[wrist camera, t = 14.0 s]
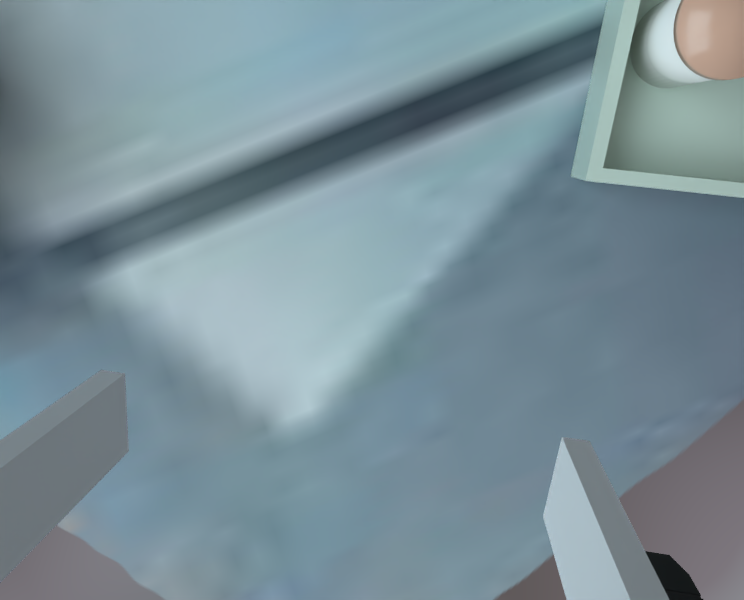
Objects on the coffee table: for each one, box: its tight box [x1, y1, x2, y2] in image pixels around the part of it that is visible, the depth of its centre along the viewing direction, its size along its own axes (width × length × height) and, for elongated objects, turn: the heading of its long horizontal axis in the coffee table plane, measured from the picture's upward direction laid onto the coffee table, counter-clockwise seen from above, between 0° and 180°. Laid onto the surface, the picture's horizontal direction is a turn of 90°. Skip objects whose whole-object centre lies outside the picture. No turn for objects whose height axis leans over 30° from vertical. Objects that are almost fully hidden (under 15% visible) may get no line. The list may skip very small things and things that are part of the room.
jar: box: [630, 0, 744, 88], centre depth 34 cm, size 6×6×9 cm
